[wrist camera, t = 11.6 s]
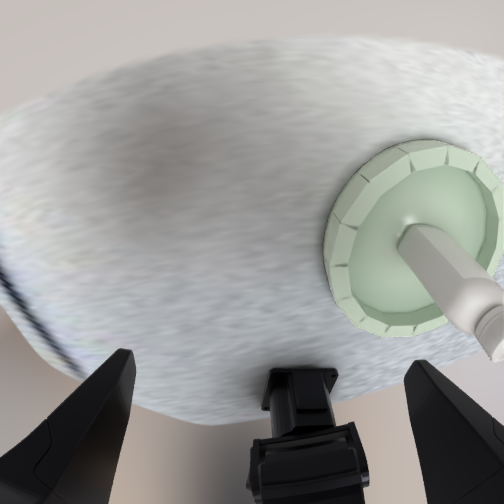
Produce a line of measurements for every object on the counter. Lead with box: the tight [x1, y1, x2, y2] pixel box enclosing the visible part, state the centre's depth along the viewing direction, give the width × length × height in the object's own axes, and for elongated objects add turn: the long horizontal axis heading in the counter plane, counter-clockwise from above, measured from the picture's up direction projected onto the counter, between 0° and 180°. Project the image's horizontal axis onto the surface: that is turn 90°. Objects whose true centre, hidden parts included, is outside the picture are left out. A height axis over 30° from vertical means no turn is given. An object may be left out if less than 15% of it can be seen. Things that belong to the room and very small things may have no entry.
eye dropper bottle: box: [398, 225, 504, 362], centre depth 16 cm, size 4×6×12 cm
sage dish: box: [323, 140, 504, 337], centre depth 21 cm, size 15×15×2 cm
